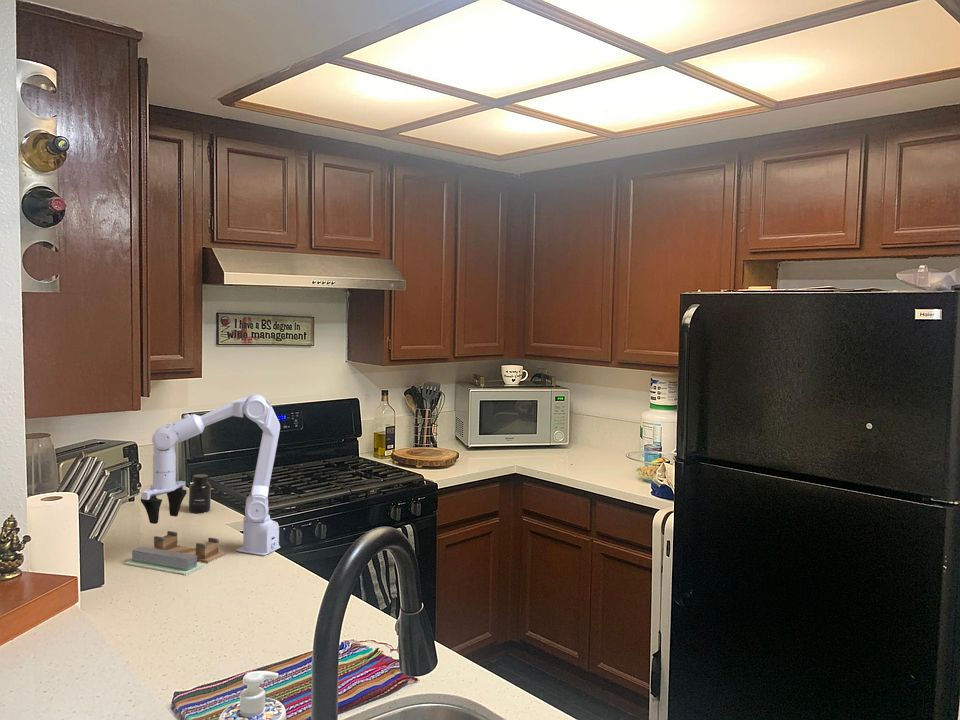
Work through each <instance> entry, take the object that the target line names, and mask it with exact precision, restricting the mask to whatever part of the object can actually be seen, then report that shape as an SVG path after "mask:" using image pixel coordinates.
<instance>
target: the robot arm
mask: <svg viewBox="0 0 960 720" xmlns="http://www.w3.org/2000/svg"><path fill="white" fill-rule="evenodd" d="M244 415H245V417H247V418H248V420H251V421H252V422H254V423H255V424H257V426H258V427H259V428H260V429H261V430H262V435H261V441H260V445H259V450H258V456H257V461H256V466H255V471H254V477H253V482H252V486H251V491H250V493H249V495H248V496H247V497H246V499H245V508H244V513H245V516H243V525H242V528H243V529H242V531H243V533H242V540H243V541H242V546H241V547H239V548H237V549H236V552H239V553H246V554H251V555H252V554H253V555H257V556H267V555H268V554H271V553H272V552H274V551H276V550H278V549H280V548H281V546H280V525H279V523H278V521H275V520H272V519H271V515H270V514H269V510H270V509H269V499H268V498H269V491H270V483H271V479H272V473H273V469H274V468H273V467H274V463H275V458H276V452H277V447H278V441H279V436H280V431H281V423H280V421H279V419H278V417H277V415H276V412H275V411H274V408H273V406H272V404H271V402H270V401H269V400H268V399H267V398H266V397H265V396H264V395H262V394H258V393H253V394H251V395H249V396H248V397H247V396H245V397H241V398H238V399H235V400H232V401H230V402H228V403H226V404H224V405H221V406H219V407H217V408H214V409H213V410H211V411H209V412H207V413H206V412H205V414H202V415H199V414H198V415H197V414H194V413H193V414H191V415H190V414H189V413H187V414H184V416H183V418H181V419H178V420H176V421H174V422H171V421H169V422H168V423H166V425H164V426H160V427H158V428H157V429H156V430H155V431H154V433H153V434H152V436H151V443H152V445H153V454H152V484H151V485H150V487H149V488H148V489H146V490H143V491H141V497H140V502H141V504H142V506H143V507H144V509H145V511H146V514H147V518H148V521H149V524H154V525H157V524H158V523H159V520H160V519H159V517H160V508H161V504H162V503H163V499H162V498H161V499H160V498H158V496H162V495H164V494H166V497H167V502H168V508H169V509H168V511H169V516H170V517H175V518H176V517H178V515H179V512H180V509H181V505H182V502H183V500H184V499H185V497H186V495H187V489H186V480H177V481H176V477H177V476H176V473H177V471H176V469H177V468H176V465H177V464H176V463H177V462H176V461H177V457H176V456H177V453H176V443H181V442H184V441H187V440H190V439H191V438H193V437H196V436H198V435H200V434H202V433H204V430H205V428H206V427H207V426H210V425H212V424H215V423H217V422H219V421H223V420H225V419H228V418H230V417H238V418H244Z"/></svg>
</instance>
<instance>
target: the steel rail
mask: <svg viewBox="0 0 960 720" xmlns="http://www.w3.org/2000/svg"><path fill="white" fill-rule="evenodd" d="M131 560H132V561H134V562H140V563H146V564H151V565H157V566H162V567H168V568H174V569H179V570H185V571H189V570H191V569H193V568H195V567H197V564H198V561H197V555H191V554H185V553H179V552H173V551H167V550H162V549H156V548H154V547H150V546H144V545H143V546H142V545H141V546H139V547H137V548H134V549H131Z"/></svg>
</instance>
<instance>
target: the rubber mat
mask: <svg viewBox="0 0 960 720" xmlns="http://www.w3.org/2000/svg"><path fill="white" fill-rule="evenodd" d="M123 564H124V565H126V564H127V566H131V565H133V567H137V566H138V567H139V568H142V567H144V568H143V569H148V568H149V570H153V569H155V570H154V571H159V570H161V571H160V572H165V571H167V572H166V573H170V572H173V573H172V574H176V573H180V574H179V575H181V574H185V575H184V576H187V575H186V574H188V575H190V574H192V573H194V572H196V571H199V570H200V568H201V569H203V568H205V567H204V566H205V565H204V564H200V563H197V567H195V568H193V569H191V570H189V571H185V570H179V569H174V568H168V567H162V566H157V565H151V564H146V563H140V562H134V561H132V559H130V560H127V561H125V562H123ZM138 567H137V568H138ZM202 567H203V568H202ZM198 569H199V570H198ZM195 570H196V571H195ZM193 571H194V572H193ZM191 572H192V573H191ZM189 573H190V574H189Z"/></svg>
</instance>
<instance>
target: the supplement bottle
mask: <svg viewBox="0 0 960 720" xmlns="http://www.w3.org/2000/svg"><path fill="white" fill-rule="evenodd" d="M188 489H189V490H188V511H189V513H191V514H204V512H206V513H208V512H210V510H211V500H212V499H211V497H212V496H211V495H212V485H211V484H210V482H209V475H208V474H204V473H203V474H202V473H201V474H193V476H192V483H190V485H189V488H188Z"/></svg>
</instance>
